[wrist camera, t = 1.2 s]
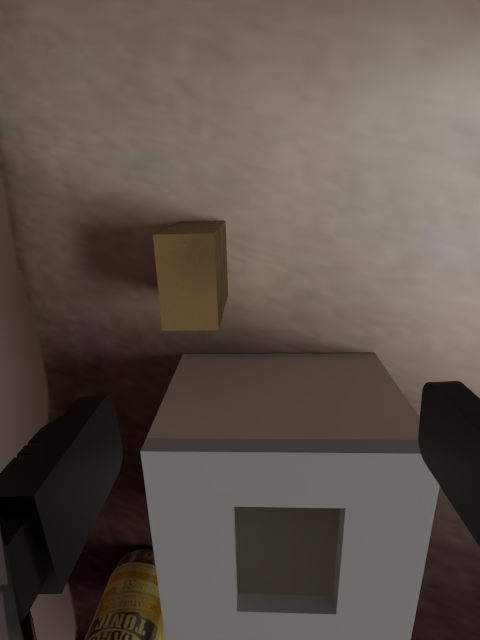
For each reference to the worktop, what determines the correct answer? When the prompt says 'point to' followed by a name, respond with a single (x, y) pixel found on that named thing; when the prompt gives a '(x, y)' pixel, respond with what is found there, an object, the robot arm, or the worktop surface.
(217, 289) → the tall khaki box
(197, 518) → the grey box with opening
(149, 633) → the sauce bottle
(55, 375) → the worktop surface
